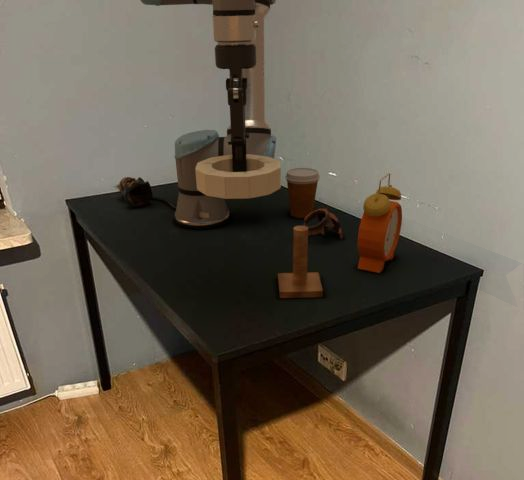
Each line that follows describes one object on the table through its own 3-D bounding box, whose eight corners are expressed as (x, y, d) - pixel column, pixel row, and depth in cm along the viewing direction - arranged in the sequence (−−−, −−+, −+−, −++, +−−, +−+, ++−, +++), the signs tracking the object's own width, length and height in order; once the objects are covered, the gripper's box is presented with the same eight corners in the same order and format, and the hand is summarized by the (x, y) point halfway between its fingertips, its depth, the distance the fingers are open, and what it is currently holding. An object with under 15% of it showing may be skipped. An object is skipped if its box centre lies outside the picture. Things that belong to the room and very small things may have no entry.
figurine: (123, 192, 158) (109, 173, 168) (133, 216, 164) (119, 197, 174) (150, 180, 160) (134, 162, 170) (159, 204, 166) (144, 186, 176)
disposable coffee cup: (283, 209, 161) (283, 167, 154) (315, 208, 162) (316, 166, 155) (287, 220, 153) (287, 177, 146) (320, 219, 154) (322, 176, 147)
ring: (181, 191, 104) (179, 169, 102) (226, 170, 115) (225, 151, 113) (253, 203, 97) (253, 181, 95) (294, 180, 109) (294, 159, 106)
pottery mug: (345, 245, 139) (332, 220, 133) (312, 258, 142) (297, 235, 137) (344, 217, 147) (331, 193, 141) (312, 230, 150) (298, 207, 145)
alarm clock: (379, 276, 122) (390, 186, 111) (354, 270, 125) (361, 183, 114) (398, 255, 132) (409, 170, 121) (373, 250, 134) (382, 167, 124)
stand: (279, 298, 114) (279, 236, 107) (277, 279, 122) (277, 220, 115) (322, 297, 114) (325, 235, 107) (318, 278, 122) (320, 219, 115)
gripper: (255, 46, 92) (258, 186, 105) (256, 39, 105) (258, 164, 118) (210, 47, 92) (219, 186, 105) (217, 40, 106) (224, 164, 118)
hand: (240, 174), depth 112 cm, fingers closed on ring, 3 cm apart
